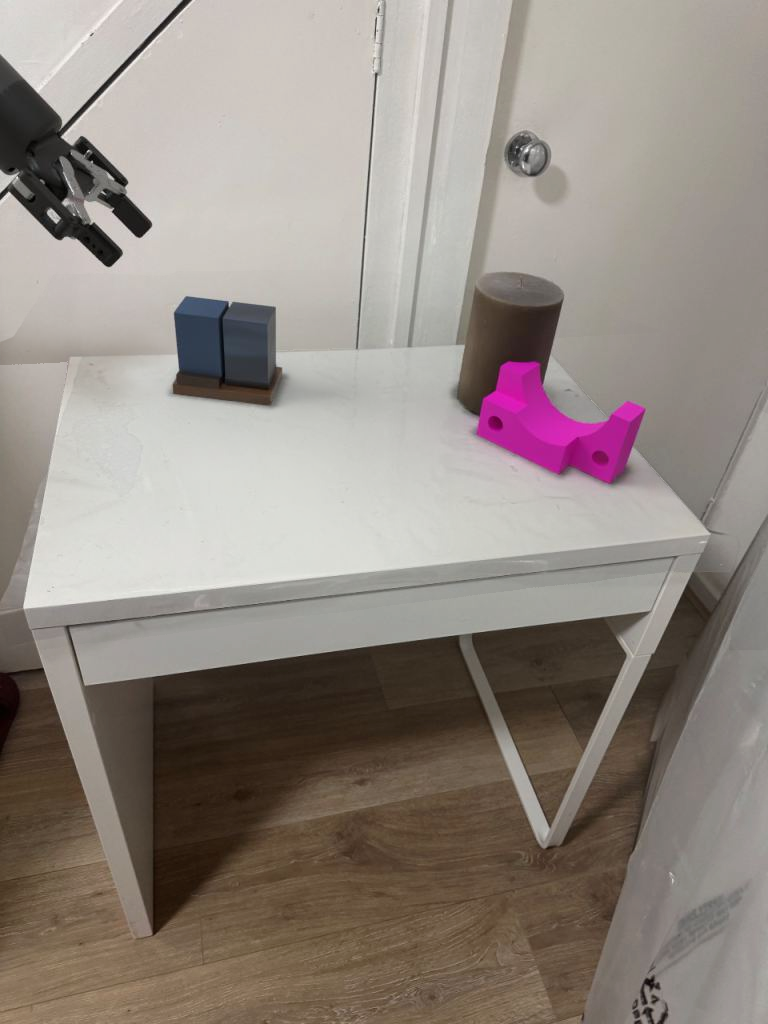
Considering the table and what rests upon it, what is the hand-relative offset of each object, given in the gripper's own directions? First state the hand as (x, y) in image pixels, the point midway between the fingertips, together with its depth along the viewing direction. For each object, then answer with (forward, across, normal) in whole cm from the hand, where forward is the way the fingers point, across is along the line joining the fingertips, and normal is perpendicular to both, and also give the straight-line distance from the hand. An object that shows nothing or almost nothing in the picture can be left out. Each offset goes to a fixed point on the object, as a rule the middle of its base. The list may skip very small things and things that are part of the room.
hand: (132, 245), depth 76 cm
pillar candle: (+39, +6, -17) cm, 43 cm away
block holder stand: (+17, +2, +5) cm, 18 cm away
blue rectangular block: (+14, +2, +6) cm, 16 cm away
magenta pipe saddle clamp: (+43, -4, -21) cm, 48 cm away
